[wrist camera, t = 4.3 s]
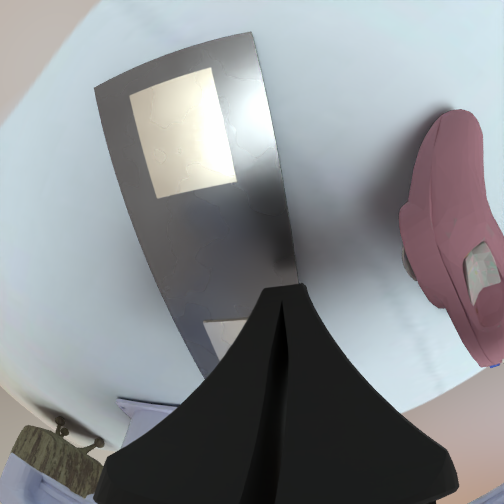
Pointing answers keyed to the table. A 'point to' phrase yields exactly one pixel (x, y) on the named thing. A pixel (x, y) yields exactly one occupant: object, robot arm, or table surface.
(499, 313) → the video game controller
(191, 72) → the label panel
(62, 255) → the table surface
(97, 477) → the tabletop clock
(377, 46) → the table surface
